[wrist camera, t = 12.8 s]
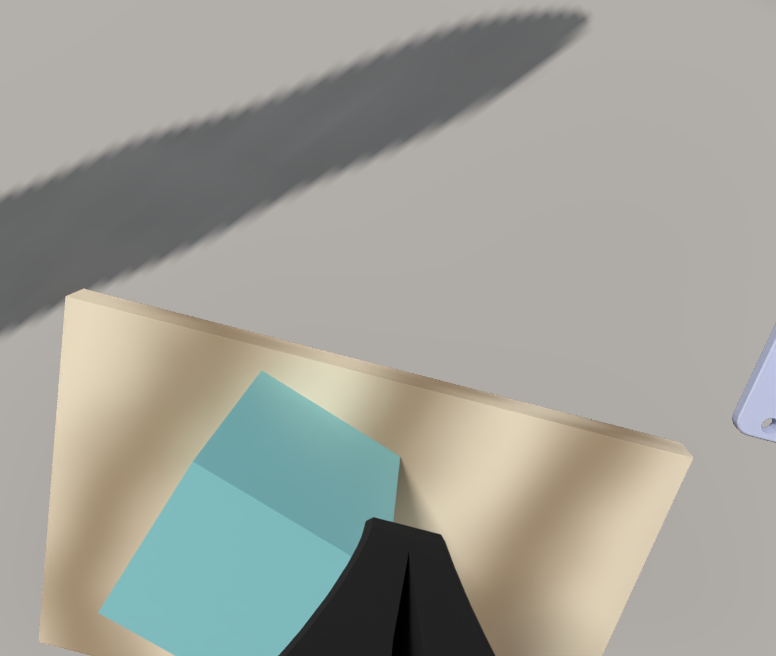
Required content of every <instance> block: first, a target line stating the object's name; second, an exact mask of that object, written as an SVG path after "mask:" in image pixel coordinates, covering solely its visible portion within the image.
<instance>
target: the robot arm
mask: <svg viewBox="0 0 776 656" xmlns="http://www.w3.org/2000/svg"><path fill="white" fill-rule="evenodd" d="M769 418H773V419H772V423H771V424H770V425H769V426H767V427H765V428H761V426H762V423H763V422H764V421H765V420H766V419H769ZM732 420H733V424H734V425H735V427H736V428H737V429H738V430H739V431H740V432H741V433H743V434H745V435H748V436H752V437H756V438H760V439H764V440H767V441H772V442H775V443H776V324H775V326H774V328H773V331H772V333H771V335H770V337H769V339H768V341H767V343H766V345H765V347H764V350H763V352H762V354H761V356H760V358H759V360H758V362H757V364H756V367H755V368H754V371H753V373H752V375H751V377H750V379H749V381H748V384H747V386H746V388H745V390H744V392H743V394H742V396H741V398H740V400H739V402H738V404H737V407H736V409H735V411H734V413H733V417H732ZM278 656H495V654H494V652H493V650H492V648H491V646H490V644H489V642H488V640H487V638H486V636H485V634H484V632H483V629H482V627H481V625H480V623H479V621H478V619H477V617H476V615H475V613H474V611H473V608H472V606H471V604H470V602H469V599H468V597H467V595H466V593H465V590H464V588H463V585H462V583H461V581H460V578H459V576H458V573H457V571H456V569H455V566H454V563H453V561H452V558H451V556H450V553H449V550H448V548H447V545H446V542H445V540H444V538H443V537H442V535H441V534H438V533H434V532H430V531H426V530H422V529H418V528H414V527H410V526H406V525H403V524H399V523H395V522H391V521H387V520H383V519H379V518H375V517H373V518H371V519H369V520H367V521H366V522H365V526H364V529H363V533H362V536H361V539H360V541H359V543H358V545H357V547H356V549H355V551H354V553H353V555H352V557H351V558H350V560H349V562H348V564H347V566H346V567H345V569H344V570H343V572H342V573H341V575H340V576H339V578H338V579H337V581H336V583H335V584H334V586H333V587H332V589H331V590H330V592H329V593H328V595H327V596H326V597H325V599H324V600H323V601H322V603H321V604H320V605H319V607H318V608H317V609H316V611H315V612H314V613H313V614H312V616H311V617H310V618H309V620H308V621H307V622H306V624H305V625H304V626H303V627H302V629H301V630H300V631H299V632H298V633H297V635H296V636H295V637H294V638H293V639H292V641H291V642H290V643H289V644H288V645H287V646H286V647H285V649H284V650H283V651H282V652H281V653H280V654H279V655H278Z"/></svg>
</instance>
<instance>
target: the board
mask: <svg viewBox="0 0 776 656" xmlns="http://www.w3.org/2000/svg"><path fill="white" fill-rule="evenodd" d="M261 371H264V372H265V373H267V374H269V375H270V376H272V377H273V378H275V379H277V380H278V381H280V382H281V383H283V384H285V385H286V386H288V387H289V388H291V389H293V390H294V391H296V392H297V393H299V394H301V395H302V396H304V397H306V398H307V399H309V400H310V401H312V402H314V403H315V404H317V405H318V406H320V407H322V408H323V409H325V410H326V411H328V412H330V413H331V414H333V415H334V416H336V417H338V418H339V419H341V420H342V421H344V422H346V423H347V424H349V425H350V426H352V427H354V428H355V429H357V430H358V431H360V432H362V433H363V434H365V435H366V436H368V437H370V438H371V439H373V440H374V441H376V442H378V443H379V444H381V445H382V446H384V447H386V448H387V449H389V450H390V451H392V452H394V453H395V454H397V455H398V456H400V464H399V473H398V482H397V491H396V501H395V510H394V519H393V522H395V523H399V524H403V525H406V526H410V527H414V528H418V529H422V530H426V531H430V532H434V533H438V534H441V535H442V537H443V538H444V540H445V542H446V545H447V548H448V550H449V553H450V556H451V558H452V561H453V563H454V566H455V569H456V571H457V573H458V576H459V578H460V581H461V583H462V585H463V588H464V590H465V593H466V595H467V597H468V599H469V602H470V604H471V606H472V608H473V611H474V613H475V615H476V617H477V619H478V621H479V623H480V625H481V627H482V629H483V632H484V634H485V636H486V638H487V640H488V642H489V644H490V646H491V648H492V650H493V652H494V654H495V656H602V655H603V653H604V651H605V649H606V647H607V644H608V642H609V640H610V638H611V636H612V634H613V632H614V629H615V627H616V625H617V623H618V621H619V618H620V616H621V614H622V612H623V610H624V608H625V606H626V603H627V601H628V599H629V597H630V595H631V593H632V590H633V588H634V586H635V584H636V582H637V580H638V577H639V575H640V573H641V571H642V569H643V566H644V564H645V562H646V560H647V558H648V556H649V553H650V551H651V549H652V547H653V545H654V543H655V540H656V538H657V536H658V534H659V532H660V530H661V528H662V525H663V523H664V521H665V519H666V517H667V515H668V512H669V510H670V508H671V506H672V503H673V501H674V499H675V497H676V495H677V492H678V491H679V489H680V486H681V484H682V482H683V480H684V478H685V475H686V473H687V471H688V469H689V467H690V465H691V462H692V460H693V457H692V455H691V454H690V453H689V452H688V451H687V449H686V448H685V447H684V446H683V444H682V443H681V442H677V441H673V440H669V439H665V438H661V437H658V436H654V435H650V434H646V433H642V432H638V431H634V430H630V429H627V428H623V427H619V426H615V425H611V424H607V423H603V422H599V421H595V420H592V419H588V418H584V417H580V416H576V415H572V414H568V413H564V412H561V411H557V410H553V409H549V408H545V407H541V406H537V405H533V404H529V403H526V402H522V401H517V400H514V399H510V398H506V397H502V396H498V395H494V394H490V393H486V392H483V391H479V390H475V389H471V388H467V387H463V386H460V385H456V384H451V383H448V382H444V381H440V380H436V379H432V378H428V377H425V376H421V375H417V374H413V373H409V372H405V371H401V370H397V369H394V368H389V367H385V366H382V365H378V364H374V363H370V362H366V361H362V360H359V359H354V358H351V357H346V356H343V355H339V354H335V353H331V352H328V351H324V350H319V349H316V348H312V347H308V346H304V345H300V344H296V343H293V342H289V341H285V340H281V339H277V338H273V337H269V336H265V335H261V334H258V333H254V332H250V331H246V330H242V329H238V328H234V327H230V326H227V325H222V324H218V323H215V322H211V321H207V320H203V319H199V318H196V317H191V316H188V315H184V314H180V313H176V312H172V311H168V310H164V309H160V308H157V307H153V306H149V305H145V304H141V303H137V302H133V301H130V300H125V299H121V298H118V297H114V296H110V295H106V294H102V293H98V292H95V291H91V290H87V289H82V290H80V291H77V292H75V293H73V294H70V295H68V296H66V300H65V312H64V326H63V338H62V351H61V364H60V377H59V389H58V402H57V415H56V428H55V441H54V455H53V466H52V479H51V492H50V505H49V518H48V530H47V544H46V556H45V570H44V583H43V594H42V608H41V620H40V634H39V642H41V643H44V644H48V645H52V646H57V647H60V648H64V649H68V650H72V651H76V652H80V653H84V654H87V655H91V656H175V655H173V654H171V653H169V652H168V651H166V650H164V649H162V648H160V647H159V646H157V645H155V644H153V643H151V642H150V641H148V640H146V639H144V638H142V637H141V636H139V635H137V634H135V633H133V632H132V631H130V630H128V629H126V628H124V627H123V626H121V625H119V624H117V623H115V622H114V621H112V620H110V619H108V618H106V617H105V616H103V615H101V614H99V613H98V612H99V610H100V609H101V607H102V606H103V604H104V602H105V601H106V599H107V598H108V596H109V594H110V593H111V591H112V590H113V588H114V586H115V585H116V583H117V582H118V580H119V578H120V577H121V575H122V574H123V572H124V570H125V569H126V567H127V566H128V564H129V562H130V561H131V559H132V558H133V556H134V554H135V553H136V551H137V550H138V548H139V546H140V545H141V543H142V542H143V540H144V538H145V537H146V535H147V534H148V532H149V530H150V529H151V527H152V526H153V524H154V522H155V521H156V519H157V518H158V516H159V514H160V513H161V511H162V510H163V508H164V506H165V505H166V503H167V502H168V500H169V498H170V497H171V495H172V494H173V492H174V491H175V489H176V487H177V486H178V484H179V483H180V481H181V479H182V478H183V476H184V475H185V473H186V471H187V470H188V468H189V467H190V465H191V463H192V462H193V460H194V459H195V458H196V456H197V455H198V454H199V452H200V451H201V450H202V449H203V447H204V446H205V445H206V443H207V442H208V441H209V439H210V438H211V437H212V435H213V434H214V433H215V431H216V430H217V429H218V427H219V426H220V425H221V423H222V422H223V421H224V419H225V418H226V417H227V415H228V414H229V413H230V412H231V410H232V409H233V408H234V406H235V405H236V404H237V402H238V401H239V400H240V398H241V397H242V396H243V394H244V393H245V392H246V390H247V389H248V388H249V386H250V385H251V384H252V382H253V381H254V380H255V378H256V377H257V376H258V375H259V373H260V372H261Z"/></svg>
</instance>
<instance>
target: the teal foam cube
mask: <svg viewBox="0 0 776 656" xmlns="http://www.w3.org/2000/svg"><path fill="white" fill-rule="evenodd" d="M399 464H400V456H398V455H397V454H395V453H394V452H392V451H390V450H389V449H387V448H386V447H384V446H382V445H381V444H379V443H378V442H376V441H374V440H373V439H371V438H370V437H368V436H366V435H365V434H363V433H362V432H360V431H358V430H357V429H355V428H354V427H352V426H350V425H349V424H347V423H346V422H344V421H342V420H341V419H339V418H338V417H336V416H334V415H333V414H331V413H330V412H328V411H326V410H325V409H323V408H322V407H320V406H318V405H317V404H315V403H314V402H312V401H310V400H309V399H307V398H306V397H304V396H302V395H301V394H299V393H297V392H296V391H294V390H293V389H291V388H289V387H288V386H286V385H285V384H283V383H281V382H280V381H278V380H277V379H275V378H273V377H272V376H270V375H269V374H267V373H265V372H264V371H261V372H260V373H259V375H258V376H257V377H256V378H255V380H254V381H253V382H252V384H251V385H250V386H249V388H248V389H247V390H246V392H245V393H244V394H243V396H242V397H241V398H240V400H239V401H238V402H237V404H236V405H235V406H234V408H233V409H232V410H231V412H230V413H229V414H228V415H227V417H226V418H225V419H224V421H223V422H222V423H221V425H220V426H219V427H218V429H217V430H216V431H215V433H214V434H213V435H212V437H211V438H210V439H209V441H208V442H207V443H206V445H205V446H204V447H203V449H202V450H201V451H200V452H199V454H198V455H197V456H196V458H195V459H194V460H193V462H192V463H191V465H190V467H189V468H188V470H187V471H186V473H185V475H184V476H183V478H182V479H181V481H180V483H179V484H178V486H177V487H176V489H175V491H174V492H173V494H172V495H171V497H170V498H169V500H168V502H167V503H166V505H165V506H164V508H163V510H162V511H161V513H160V514H159V516H158V518H157V519H156V521H155V522H154V524H153V526H152V527H151V529H150V530H149V532H148V534H147V535H146V537H145V538H144V540H143V542H142V543H141V545H140V546H139V548H138V550H137V551H136V553H135V554H134V556H133V558H132V559H131V561H130V562H129V564H128V566H127V567H126V569H125V570H124V572H123V574H122V575H121V577H120V578H119V580H118V582H117V583H116V585H115V586H114V588H113V590H112V591H111V593H110V594H109V596H108V598H107V599H106V601H105V602H104V604H103V606H102V607H101V609H100V610H99V612H98V613H99V614H101V615H103V616H105V617H106V618H108V619H110V620H112V621H114V622H115V623H117V624H119V625H121V626H123V627H124V628H126V629H128V630H130V631H132V632H133V633H135V634H137V635H139V636H141V637H142V638H144V639H146V640H148V641H150V642H151V643H153V644H155V645H157V646H159V647H160V648H162V649H164V650H166V651H168V652H169V653H171V654H173V655H175V656H278V655H279V654H280V653H281V652H282V651H283V650H284V649H285V647H286V646H287V645H288V644H289V643H290V642H291V641H292V639H293V638H294V637H295V636H296V635H297V633H298V632H299V631H300V630H301V629H302V627H303V626H304V625H305V624H306V622H307V621H308V620H309V618H310V617H311V616H312V614H313V613H314V612H315V611H316V609H317V608H318V607H319V605H320V604H321V603H322V601H323V600H324V599H325V597H326V596H327V595H328V593H329V592H330V590H331V589H332V587H333V586H334V584H335V583H336V581H337V579H338V578H339V576H340V575H341V573H342V572H343V570H344V569H345V567H346V566H347V564H348V562H349V560H350V558H351V557H352V555H353V553H354V551H355V549H356V547H357V545H358V543H359V541H360V539H361V536H362V533H363V529H364V526H365V522H366V521H367V520H369V519H371V518H373V517H375V518H379V519H383V520H387V521H391V522H393V519H394V510H395V501H396V491H397V482H398V473H399Z"/></svg>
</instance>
